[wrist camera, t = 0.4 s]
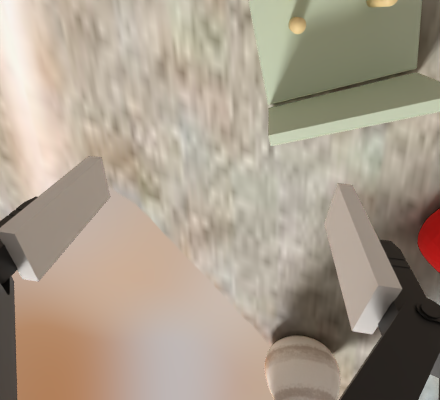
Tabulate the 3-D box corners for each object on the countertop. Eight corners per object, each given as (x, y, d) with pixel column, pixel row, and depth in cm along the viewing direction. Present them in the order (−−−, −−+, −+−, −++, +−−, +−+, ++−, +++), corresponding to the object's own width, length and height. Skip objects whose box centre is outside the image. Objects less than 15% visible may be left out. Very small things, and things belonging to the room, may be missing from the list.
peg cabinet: (243, -26, 30) (232, -43, 21) (424, -95, 25) (510, -155, 16) (270, 114, 38) (270, 146, 29) (412, 81, 33) (465, 106, 24)
